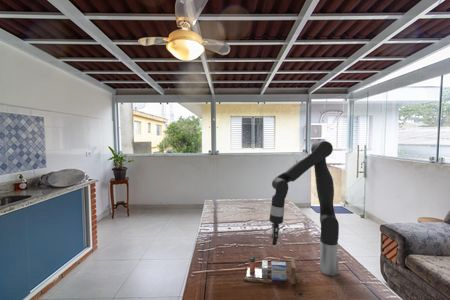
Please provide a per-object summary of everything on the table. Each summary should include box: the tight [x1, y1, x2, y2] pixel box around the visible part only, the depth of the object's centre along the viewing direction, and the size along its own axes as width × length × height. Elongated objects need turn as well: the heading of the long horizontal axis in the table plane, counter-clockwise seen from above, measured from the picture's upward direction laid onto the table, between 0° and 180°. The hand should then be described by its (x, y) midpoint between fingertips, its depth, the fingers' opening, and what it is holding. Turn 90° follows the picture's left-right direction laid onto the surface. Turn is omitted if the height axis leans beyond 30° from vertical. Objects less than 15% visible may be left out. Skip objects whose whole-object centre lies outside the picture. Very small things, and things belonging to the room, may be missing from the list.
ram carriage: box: [245, 256, 269, 279], centre depth 135 cm, size 12×9×10 cm
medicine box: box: [270, 260, 287, 282], centre depth 133 cm, size 8×4×9 cm, turn 85°
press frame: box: [243, 257, 296, 285], centre depth 134 cm, size 27×12×9 cm, turn 79°
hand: (273, 241), depth 136 cm, fingers open, 8 cm apart
